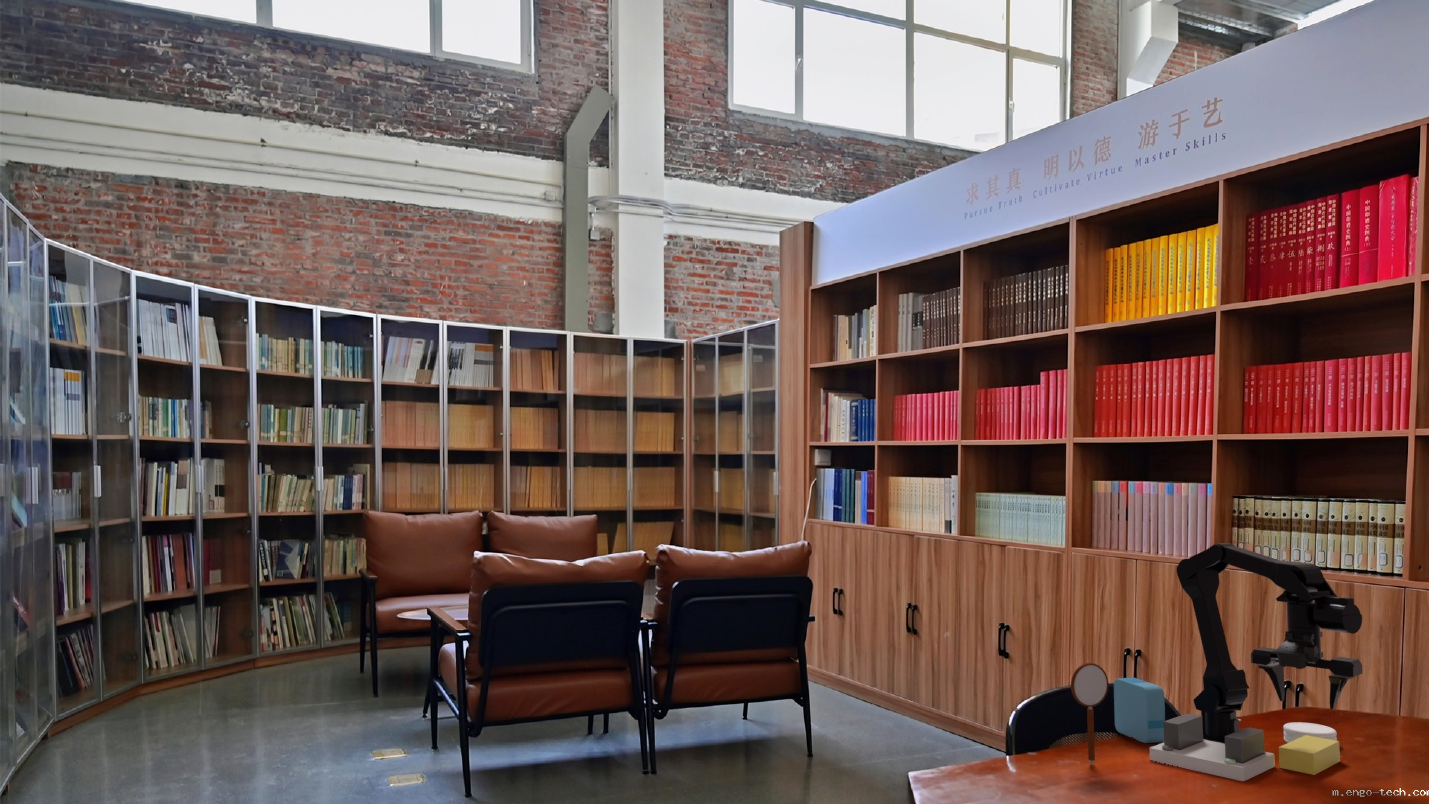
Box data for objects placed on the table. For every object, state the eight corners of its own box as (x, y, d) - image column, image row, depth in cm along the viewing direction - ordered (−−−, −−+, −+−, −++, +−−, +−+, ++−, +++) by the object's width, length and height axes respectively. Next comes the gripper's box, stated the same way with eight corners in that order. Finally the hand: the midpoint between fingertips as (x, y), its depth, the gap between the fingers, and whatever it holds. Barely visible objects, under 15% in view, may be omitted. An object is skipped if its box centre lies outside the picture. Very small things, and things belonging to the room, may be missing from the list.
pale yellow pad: (1279, 767, 196) (1278, 747, 196) (1306, 754, 205) (1305, 735, 205) (1314, 774, 191) (1313, 753, 191) (1340, 761, 200) (1339, 741, 200)
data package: (1166, 744, 213) (1164, 687, 214) (1147, 745, 212) (1145, 688, 213) (1132, 730, 225) (1130, 676, 225) (1114, 731, 224) (1113, 677, 225)
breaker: (1164, 748, 201) (1163, 721, 202) (1188, 738, 208) (1187, 713, 209) (1179, 751, 199) (1178, 724, 199) (1203, 741, 206) (1202, 715, 207)
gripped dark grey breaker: (1225, 764, 192) (1224, 736, 193) (1248, 754, 199) (1247, 727, 200) (1241, 767, 190) (1240, 739, 190) (1264, 757, 197) (1263, 730, 197)
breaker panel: (1149, 760, 200) (1149, 744, 200) (1183, 747, 210) (1182, 732, 210) (1243, 781, 187) (1242, 764, 187) (1274, 766, 196) (1274, 750, 197)
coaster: (1286, 735, 221) (1285, 719, 221) (1339, 742, 215) (1338, 726, 215) (1281, 745, 213) (1280, 728, 213) (1335, 752, 207) (1334, 735, 207)
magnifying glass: (1106, 761, 199) (1104, 661, 201) (1112, 764, 198) (1110, 662, 199) (1070, 765, 197) (1068, 663, 198) (1076, 767, 195) (1073, 664, 196)
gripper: (1238, 624, 202) (1241, 702, 201) (1341, 636, 187) (1345, 720, 186) (1260, 619, 209) (1263, 695, 208) (1361, 630, 195) (1365, 711, 193)
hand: (1306, 705), depth 199 cm, fingers open, 9 cm apart
